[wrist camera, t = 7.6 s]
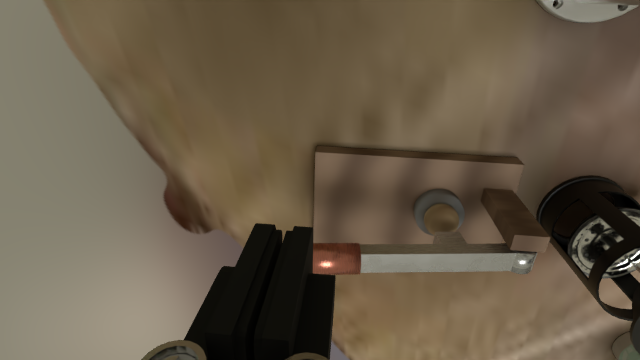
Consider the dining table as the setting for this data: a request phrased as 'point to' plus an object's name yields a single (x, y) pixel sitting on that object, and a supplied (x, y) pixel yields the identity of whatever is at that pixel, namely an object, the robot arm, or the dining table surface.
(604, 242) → the french press
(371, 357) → the dining table surface
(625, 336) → the coffee cup
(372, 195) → the base
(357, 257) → the lever
